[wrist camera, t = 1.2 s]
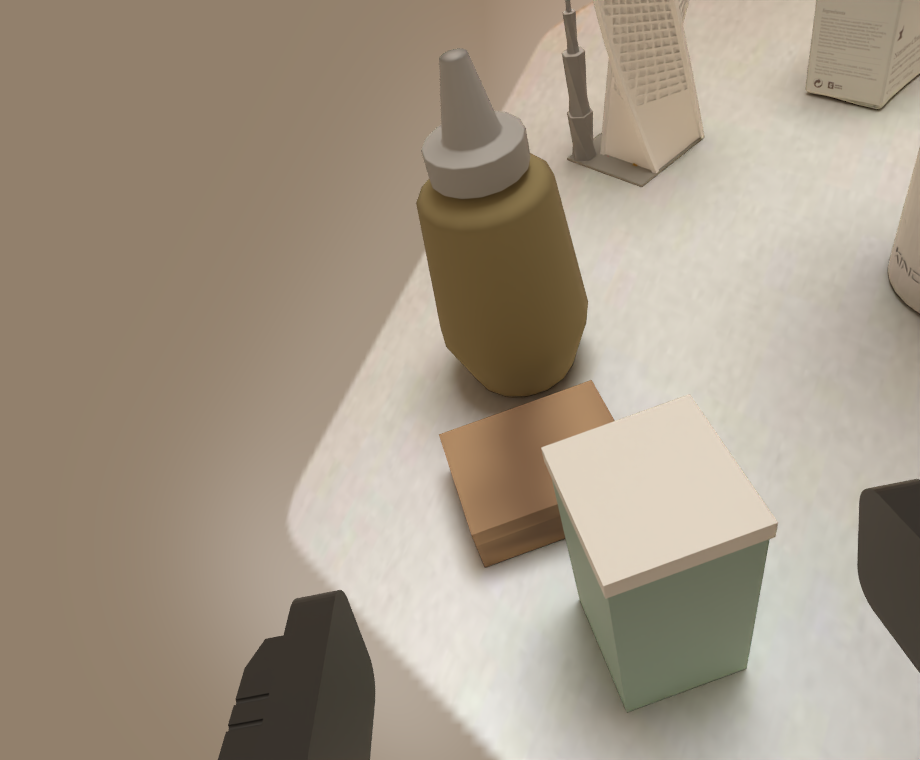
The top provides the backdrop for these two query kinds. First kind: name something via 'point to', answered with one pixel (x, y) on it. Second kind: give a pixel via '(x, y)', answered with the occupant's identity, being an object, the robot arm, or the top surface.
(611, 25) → the skyscraper
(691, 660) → the tin
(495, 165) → the squeeze bottle
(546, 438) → the brown wooden bridge block
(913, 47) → the skincare box
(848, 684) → the top surface
